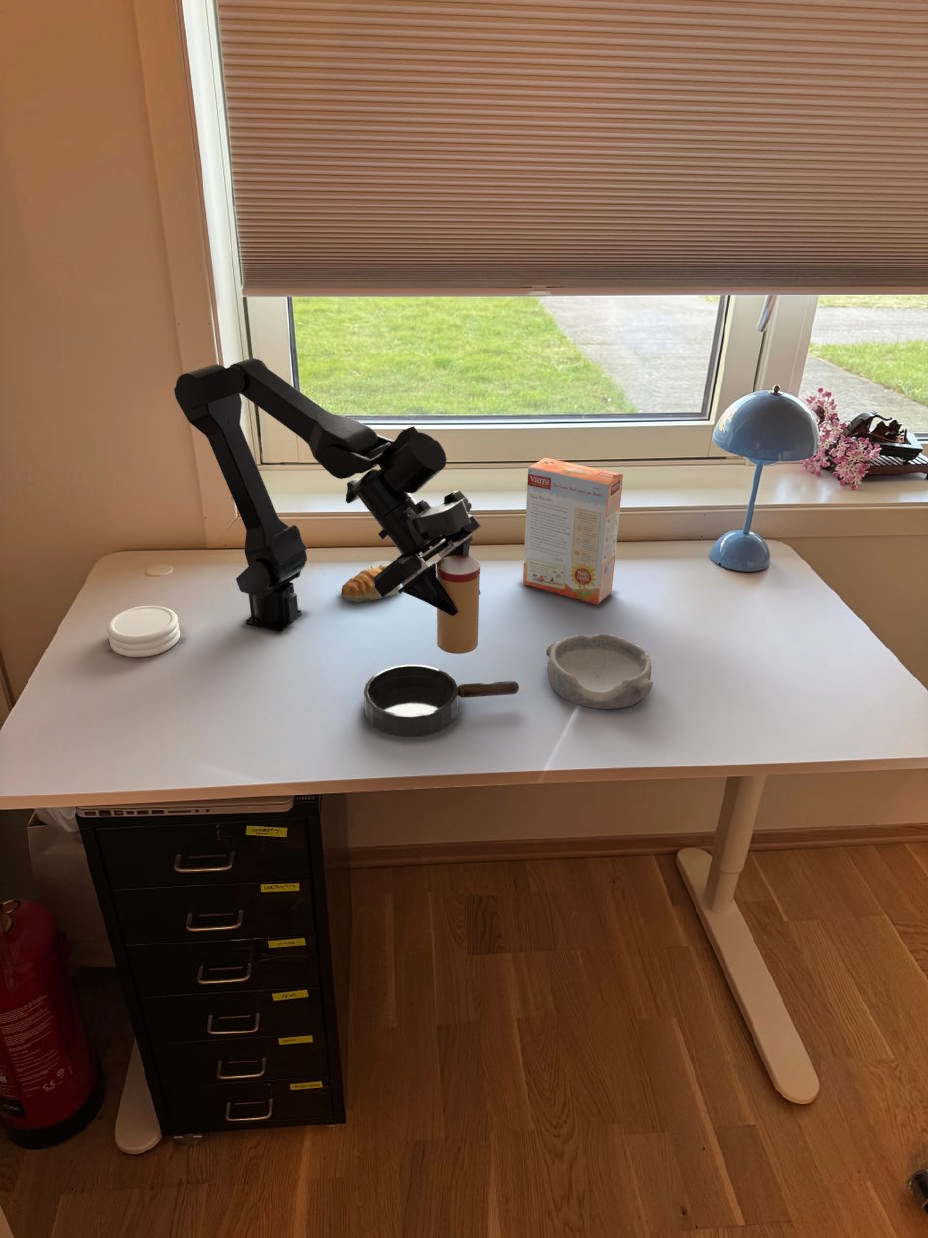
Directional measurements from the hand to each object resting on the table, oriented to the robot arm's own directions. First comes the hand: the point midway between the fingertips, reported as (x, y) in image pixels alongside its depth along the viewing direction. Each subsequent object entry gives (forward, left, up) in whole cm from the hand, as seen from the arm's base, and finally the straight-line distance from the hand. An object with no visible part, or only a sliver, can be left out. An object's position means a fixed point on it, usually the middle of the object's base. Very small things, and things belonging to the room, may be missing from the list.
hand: (466, 605), depth 123 cm
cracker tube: (-1, 0, -6) cm, 7 cm away
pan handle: (+5, -4, -11) cm, 12 cm away
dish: (+17, +7, -13) cm, 22 cm away
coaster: (-48, -8, -13) cm, 50 cm away
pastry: (-24, +19, -13) cm, 33 cm away
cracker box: (+5, +33, -13) cm, 36 cm away
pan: (-4, -9, -12) cm, 16 cm away
